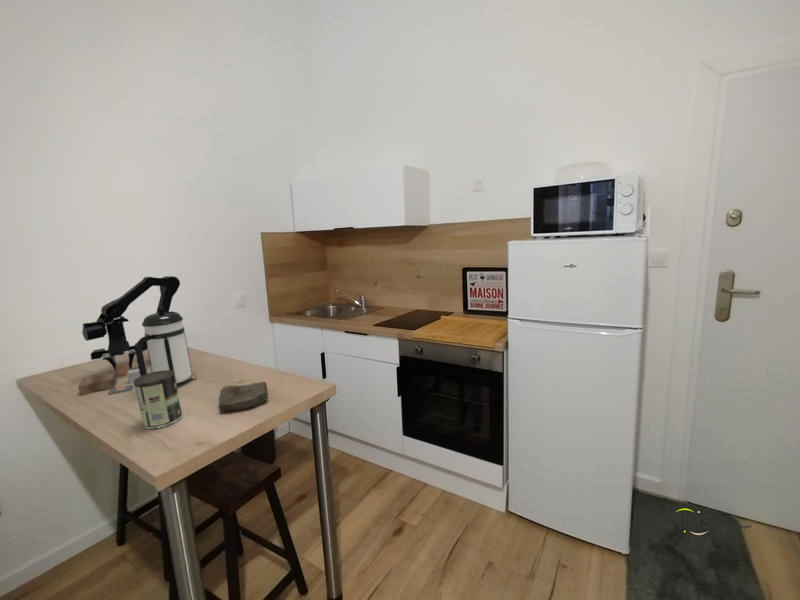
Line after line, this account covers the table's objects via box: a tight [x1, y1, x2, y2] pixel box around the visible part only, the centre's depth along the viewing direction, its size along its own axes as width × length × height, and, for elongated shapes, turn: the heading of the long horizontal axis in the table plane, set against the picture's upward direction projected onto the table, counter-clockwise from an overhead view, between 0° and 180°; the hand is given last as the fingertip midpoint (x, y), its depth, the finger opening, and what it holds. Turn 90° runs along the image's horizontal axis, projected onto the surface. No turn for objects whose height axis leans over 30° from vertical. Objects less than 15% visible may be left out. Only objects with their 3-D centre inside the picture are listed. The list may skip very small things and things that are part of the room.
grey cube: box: [126, 368, 141, 385], centre depth 150 cm, size 4×4×4 cm
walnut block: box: [78, 371, 118, 396], centre depth 145 cm, size 10×10×4 cm
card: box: [107, 384, 134, 396], centre depth 141 cm, size 7×5×1 cm
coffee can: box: [133, 370, 183, 430], centre depth 113 cm, size 10×10×14 cm
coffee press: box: [135, 306, 197, 386], centre depth 140 cm, size 17×16×30 cm
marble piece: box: [218, 381, 269, 413], centre depth 124 cm, size 17×15×4 cm
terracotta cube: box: [115, 360, 133, 377], centre depth 160 cm, size 4×4×4 cm
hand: (124, 369), depth 160 cm, fingers closed on terracotta cube, 4 cm apart
